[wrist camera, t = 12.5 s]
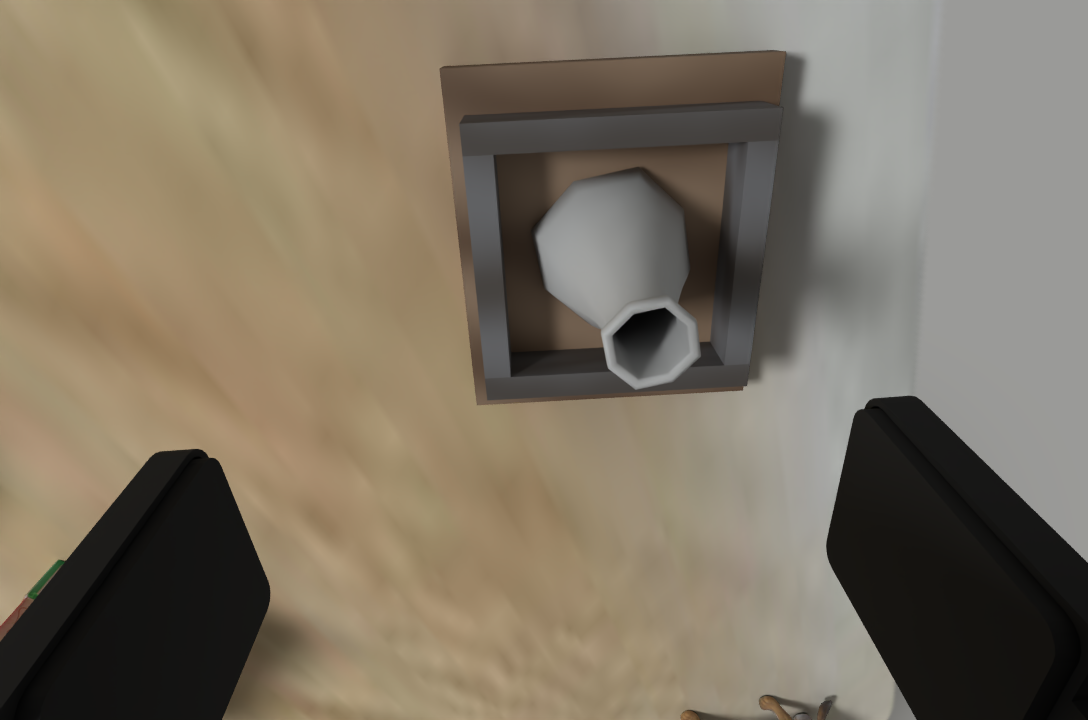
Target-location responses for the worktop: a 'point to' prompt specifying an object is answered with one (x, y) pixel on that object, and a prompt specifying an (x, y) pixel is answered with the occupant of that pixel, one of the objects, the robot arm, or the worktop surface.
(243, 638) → the robot arm
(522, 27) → the worktop surface
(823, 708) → the lion figurine
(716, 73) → the board
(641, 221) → the flask
